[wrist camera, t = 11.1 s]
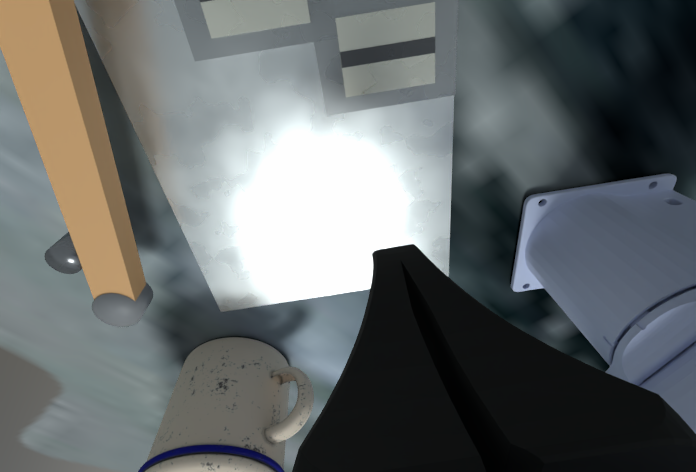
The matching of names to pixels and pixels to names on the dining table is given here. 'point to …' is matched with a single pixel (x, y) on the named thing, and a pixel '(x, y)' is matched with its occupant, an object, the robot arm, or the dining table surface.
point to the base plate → (288, 133)
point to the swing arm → (75, 149)
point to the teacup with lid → (230, 410)
